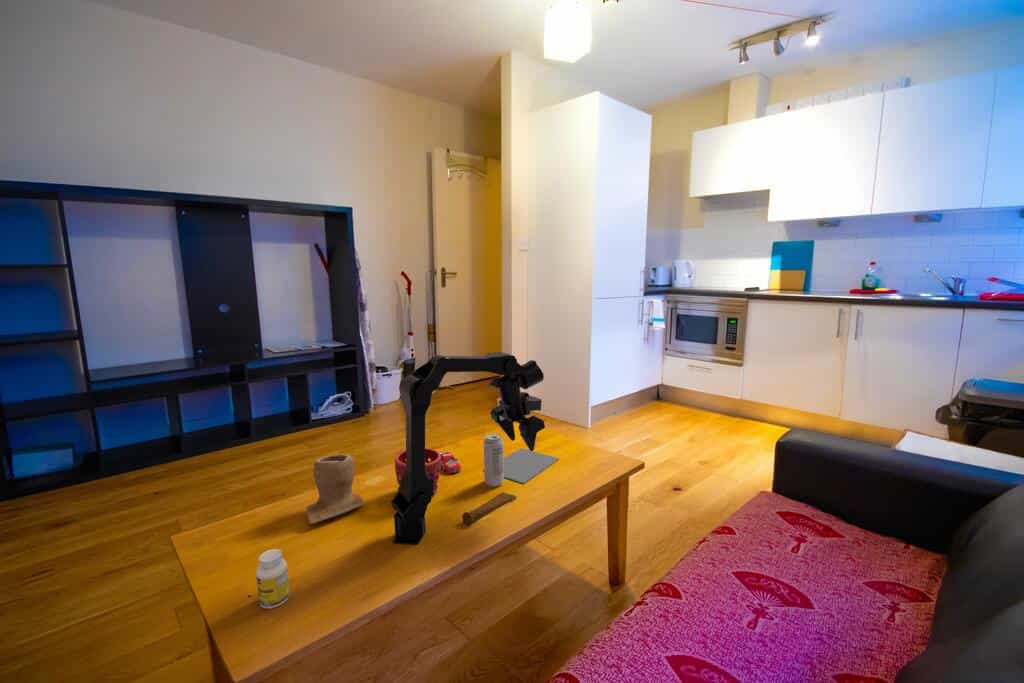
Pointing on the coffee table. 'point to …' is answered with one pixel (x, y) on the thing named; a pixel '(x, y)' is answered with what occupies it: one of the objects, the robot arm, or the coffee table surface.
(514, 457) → the mat
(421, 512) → the robot arm
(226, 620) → the coffee table surface
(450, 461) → the race car
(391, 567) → the coffee table surface
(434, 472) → the plant pot
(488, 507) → the primitive tool
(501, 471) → the energy drink can
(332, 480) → the stone cup
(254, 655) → the coffee table surface
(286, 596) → the supplement bottle
